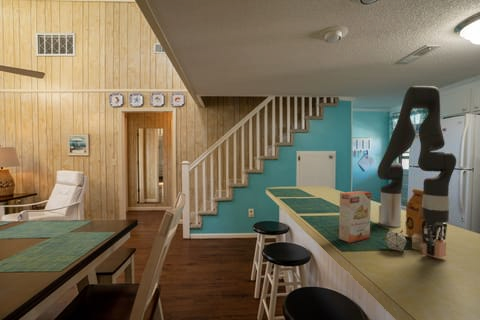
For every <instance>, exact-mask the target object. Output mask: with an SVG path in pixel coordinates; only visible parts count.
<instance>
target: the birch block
mask: <svg viewBox="0 0 480 320" xmlns="http://www.w3.org/2000/svg"><path fill="white" fill-rule="evenodd" d="M411 249H413V250H418V251H421V252H423V238H422V235H420V234H414V235H413V236H412V238H411Z"/></svg>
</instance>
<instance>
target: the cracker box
mask: <svg viewBox="0 0 480 320" xmlns="http://www.w3.org/2000/svg"><path fill="white" fill-rule="evenodd" d="M371 200H372V192H370V191H362V190H357V191H347V192H346V191H345V192H340V193H339V215H338V217H339V218H338V220H339V221H338V223H339V224H338V227H339V228H338V240H341V241H344V242H347V243H348V244H350V243H354V242H359V241H363V240H366V239H370V237H371V235H370V234H371V210H372V209H371V207H372V203H371Z"/></svg>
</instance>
